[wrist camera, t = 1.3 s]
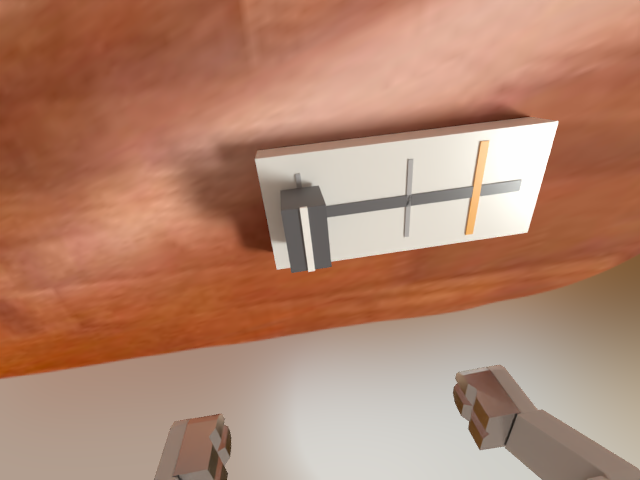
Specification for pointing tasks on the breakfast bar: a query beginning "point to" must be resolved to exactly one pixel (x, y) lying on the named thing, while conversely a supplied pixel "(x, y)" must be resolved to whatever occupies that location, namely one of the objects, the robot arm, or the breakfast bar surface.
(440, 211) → the fader console
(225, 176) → the breakfast bar surface
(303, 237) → the fader knob
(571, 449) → the robot arm
